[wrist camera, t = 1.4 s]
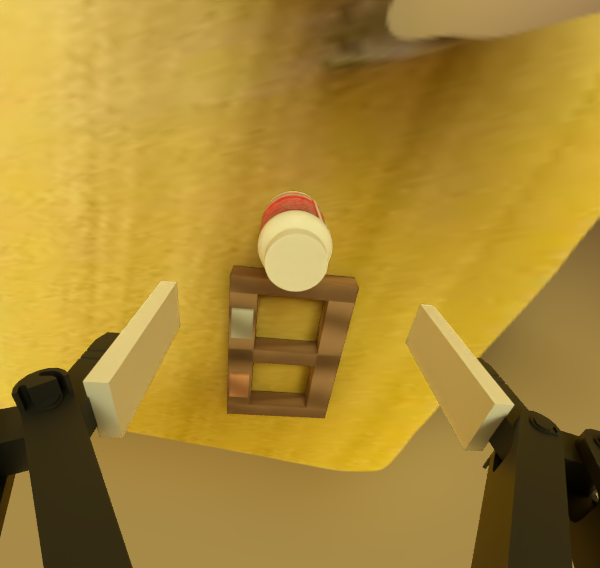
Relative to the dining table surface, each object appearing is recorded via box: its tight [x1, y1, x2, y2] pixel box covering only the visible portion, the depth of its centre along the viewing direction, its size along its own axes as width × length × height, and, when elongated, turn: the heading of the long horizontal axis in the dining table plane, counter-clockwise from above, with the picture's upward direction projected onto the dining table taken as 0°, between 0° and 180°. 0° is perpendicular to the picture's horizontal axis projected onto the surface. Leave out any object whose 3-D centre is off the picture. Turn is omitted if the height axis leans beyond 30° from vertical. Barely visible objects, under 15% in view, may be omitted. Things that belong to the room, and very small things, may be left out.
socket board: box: [227, 266, 359, 418], centre depth 38 cm, size 22×14×3 cm, turn 172°
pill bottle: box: [258, 191, 332, 292], centre depth 26 cm, size 6×6×11 cm
